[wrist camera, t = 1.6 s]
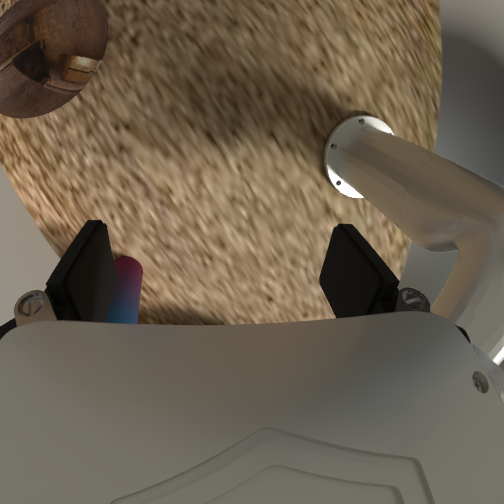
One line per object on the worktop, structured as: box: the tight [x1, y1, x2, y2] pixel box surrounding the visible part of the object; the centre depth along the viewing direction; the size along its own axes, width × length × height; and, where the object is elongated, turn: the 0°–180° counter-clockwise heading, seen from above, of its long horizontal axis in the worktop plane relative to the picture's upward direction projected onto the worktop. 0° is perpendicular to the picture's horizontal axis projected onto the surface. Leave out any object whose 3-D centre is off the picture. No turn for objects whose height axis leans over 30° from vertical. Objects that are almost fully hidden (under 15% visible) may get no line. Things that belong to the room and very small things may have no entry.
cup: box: [105, 256, 143, 324], centre depth 34 cm, size 7×7×15 cm
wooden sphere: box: [0, 0, 108, 118], centre depth 15 cm, size 15×15×15 cm
